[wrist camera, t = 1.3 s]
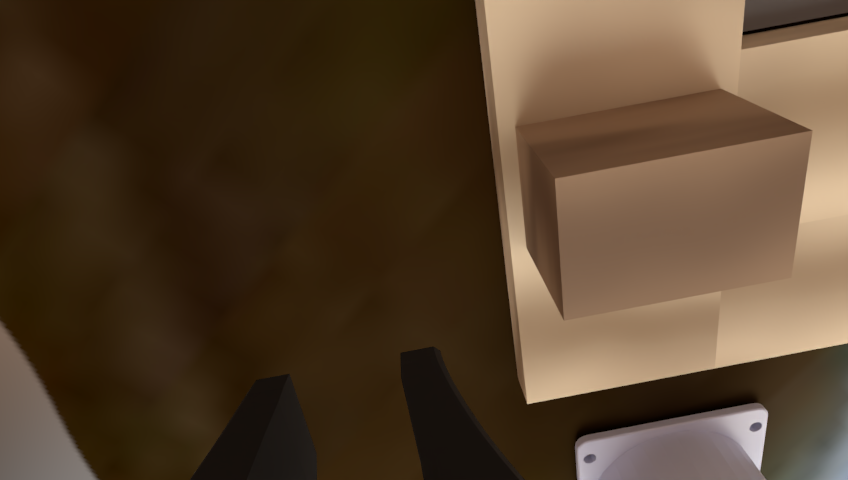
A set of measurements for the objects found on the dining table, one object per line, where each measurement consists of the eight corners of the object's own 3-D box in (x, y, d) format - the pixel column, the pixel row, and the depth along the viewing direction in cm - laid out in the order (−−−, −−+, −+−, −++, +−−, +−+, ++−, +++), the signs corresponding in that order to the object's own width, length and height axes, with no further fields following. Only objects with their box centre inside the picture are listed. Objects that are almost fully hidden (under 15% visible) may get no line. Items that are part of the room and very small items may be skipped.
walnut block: (712, 212, 19) (791, 277, 16) (526, 247, 19) (564, 321, 16) (721, 88, 18) (812, 130, 14) (515, 126, 17) (554, 178, 14)
